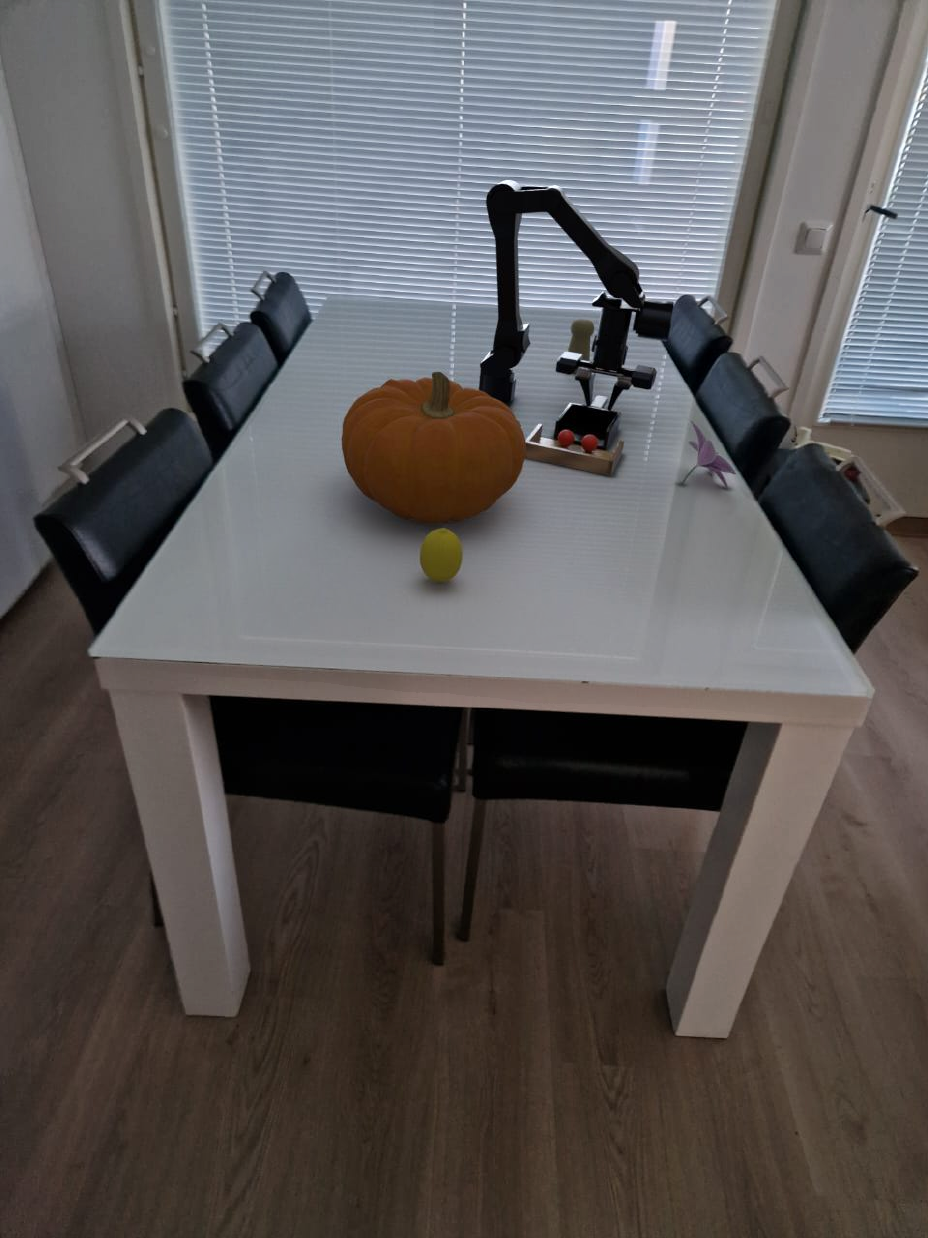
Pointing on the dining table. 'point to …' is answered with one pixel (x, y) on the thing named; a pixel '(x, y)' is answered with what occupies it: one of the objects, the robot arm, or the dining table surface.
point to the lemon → (441, 555)
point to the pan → (589, 422)
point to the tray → (571, 454)
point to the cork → (581, 338)
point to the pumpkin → (432, 449)
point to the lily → (709, 457)
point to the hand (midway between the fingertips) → (598, 412)
